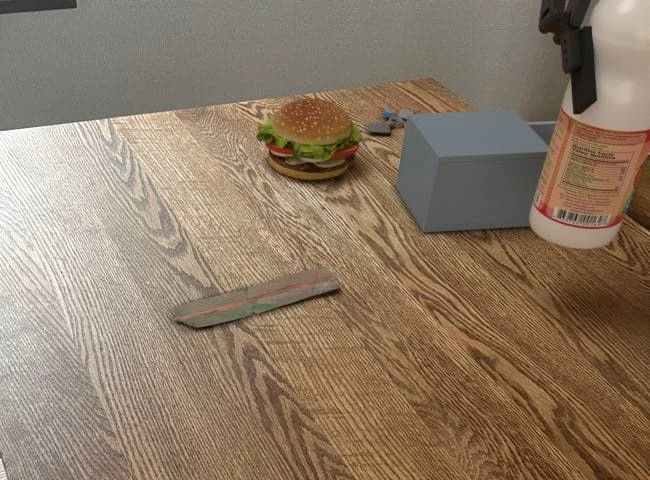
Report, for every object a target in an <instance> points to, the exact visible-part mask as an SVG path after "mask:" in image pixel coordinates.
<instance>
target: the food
mask: <svg viewBox="0 0 650 480" xmlns="http://www.w3.org/2000/svg"><path fill="white" fill-rule="evenodd" d="M257 125H258V126H257V127H256V132H257V133H256V140H257V141H259V143H260V142H263V143H264V144H265V146H266V148H267V149H268V153H267V160H268V163H269V166H270V167H272V168H273V169H274V170H275V171H277V172H278V173H279V174H283V175H285V176H287V177H290V178H295V179H301V180H311V181H312V180H313V181H314V180H325V179H329V178H334V177H338V176H339V175H342V174H343V173H345V172H346V171H347V169H348V168H349V166H350V165H351V163H352V162H353V161H354V160H355V158H356V153H357V152H358V150H359V149H360V142H361V143H362V138H363V135H362V133H361V132H360V131H361V130H360V127H359V126H355V125H354V123H353V120H352V119H351V116H350V115H349V113H347V112H346V110H345V109H344V108H342V107H341V105H338V104H337V103H335V102H332V101H329V100H326V99H321V98H311V97H309V98H299V99H294V100H292V101H289V102H286V103H285V104H282V106H281V107H279V108H278V110H276V111H275V112H274V114H273V117H269V118H267V120H266V121H265V122H264V124H263V125H260V123H259V122H258V123H257Z"/></svg>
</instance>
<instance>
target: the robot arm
mask: <svg viewBox="0 0 650 480" xmlns="http://www.w3.org/2000/svg"><path fill="white" fill-rule="evenodd" d="M566 2H567V0H541V4H540V10H539V12H540V13H539V18H538V25H537V28H538V31H539V32H540V33H541V34H542V35H546V34H549V33H551V34H553V35H552V42H553V43H554V44H555V45H556V46H560V55H561V67H562V71H563V73H564V75H569V76H570V78H571V89H572V103H573V115H574V114H582V113H583V112H584V111H585V110H586V109H588V108H589V107H590V106H591V105H592V104H594V103H595V102H596V101H597V91H596V77H595V63H594V48H593V37H592V26H587V25H583V23H584V20H585V17H586V15H587V13H588V9H589V8H590V5H591V2H592V0H568V2H567V3H566ZM582 25H583V27H581V26H582Z"/></svg>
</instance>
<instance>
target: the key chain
mask: <svg viewBox="0 0 650 480" xmlns="http://www.w3.org/2000/svg"><path fill="white" fill-rule="evenodd" d="M382 106H383V109H384V111H382V115H383V116H384V117H385V118H388V120H387V121H383V122H375V121H373V122H371V121H370V122H368V123H367V127H368V132H370V133H378V134H379V133H380V134H390V133H391V127H393V126H401V125H403V124H404V123H407V117H408V114H415V111H413V110H410V109H407V108H402V107H401V108H400V109H399V110H400V111H398V114H396V113H395V112H393V110H392V108H391V107H390V105H389V104H388V103H383V104H382Z"/></svg>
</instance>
